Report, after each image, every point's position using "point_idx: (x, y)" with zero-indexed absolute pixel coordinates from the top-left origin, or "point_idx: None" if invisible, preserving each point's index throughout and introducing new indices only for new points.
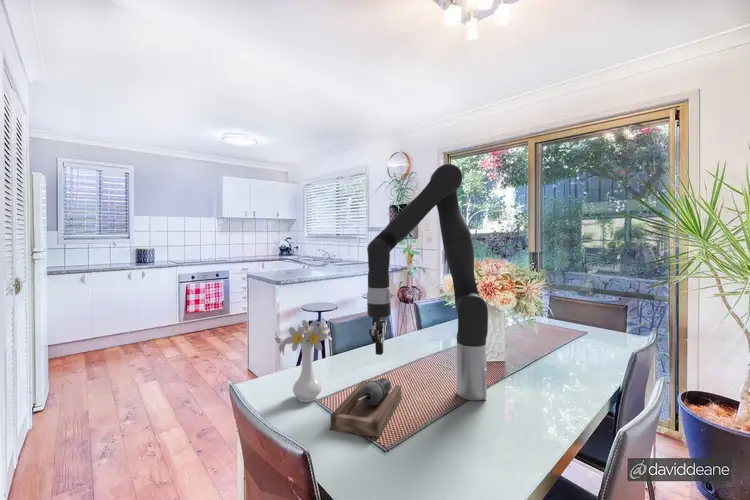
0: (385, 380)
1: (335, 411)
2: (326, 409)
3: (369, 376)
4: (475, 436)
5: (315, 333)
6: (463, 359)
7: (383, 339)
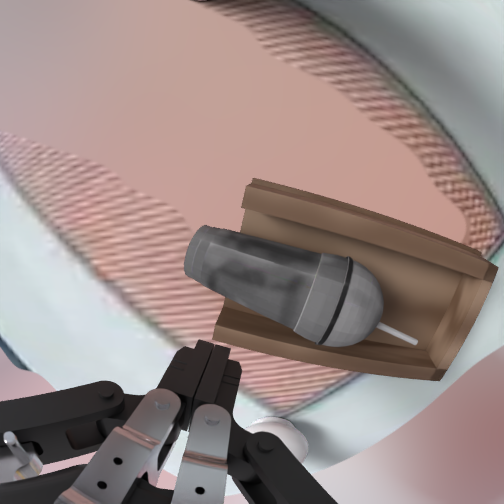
0: (232, 259)
1: (425, 377)
2: (333, 390)
3: (105, 299)
4: (449, 17)
5: None
6: None
7: (166, 409)
